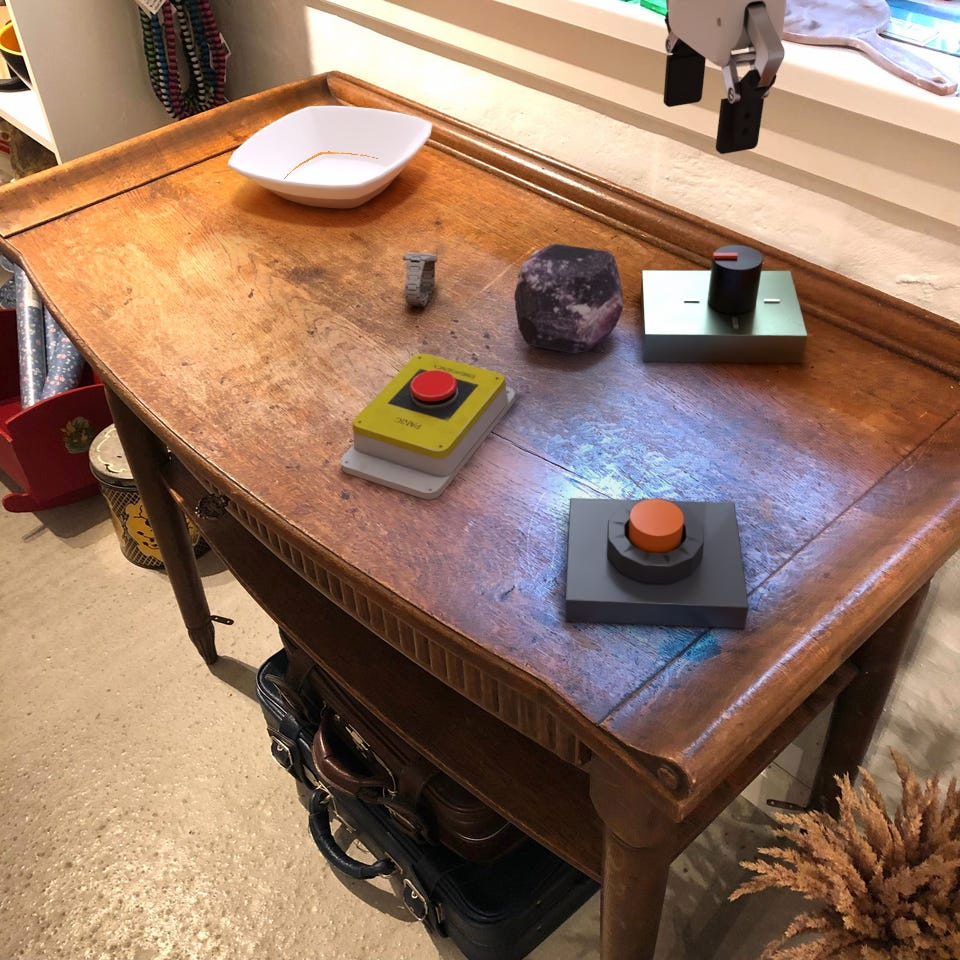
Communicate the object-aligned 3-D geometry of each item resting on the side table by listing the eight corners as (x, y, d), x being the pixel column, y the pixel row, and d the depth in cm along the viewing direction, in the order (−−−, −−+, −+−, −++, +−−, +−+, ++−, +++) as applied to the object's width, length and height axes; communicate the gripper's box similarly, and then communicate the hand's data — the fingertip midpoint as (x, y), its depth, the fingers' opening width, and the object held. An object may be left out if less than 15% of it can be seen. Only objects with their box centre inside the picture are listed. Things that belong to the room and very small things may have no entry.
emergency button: (518, 354, 82) (429, 460, 73) (519, 395, 85) (434, 502, 76) (424, 330, 86) (327, 428, 76) (428, 370, 89) (336, 469, 79)
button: (680, 517, 68) (682, 499, 67) (683, 554, 65) (685, 536, 64) (628, 515, 68) (629, 497, 67) (629, 552, 66) (630, 534, 64)
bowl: (456, 159, 122) (453, 118, 118) (371, 239, 108) (365, 195, 104) (310, 138, 129) (303, 98, 126) (213, 210, 115) (202, 168, 112)
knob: (753, 288, 90) (760, 241, 87) (758, 314, 87) (766, 266, 84) (705, 288, 91) (710, 241, 88) (709, 313, 88) (714, 266, 84)
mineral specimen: (584, 277, 96) (607, 207, 87) (624, 363, 92) (653, 299, 83) (492, 297, 93) (506, 227, 84) (529, 386, 89) (547, 323, 80)
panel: (785, 297, 94) (790, 269, 92) (802, 363, 86) (808, 334, 84) (640, 297, 96) (642, 268, 94) (643, 361, 88) (645, 332, 86)
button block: (731, 523, 72) (737, 484, 69) (744, 628, 65) (752, 589, 62) (569, 518, 74) (570, 479, 71) (565, 621, 66) (565, 582, 63)
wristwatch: (444, 283, 100) (440, 239, 97) (430, 316, 95) (425, 271, 92) (411, 281, 101) (406, 238, 97) (395, 314, 96) (389, 269, 93)
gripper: (854, -106, 59) (806, 162, 71) (728, -153, 72) (704, 81, 83) (742, -91, 58) (711, 179, 70) (633, -141, 71) (622, 94, 82)
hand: (707, 125), depth 77 cm, fingers open, 9 cm apart
